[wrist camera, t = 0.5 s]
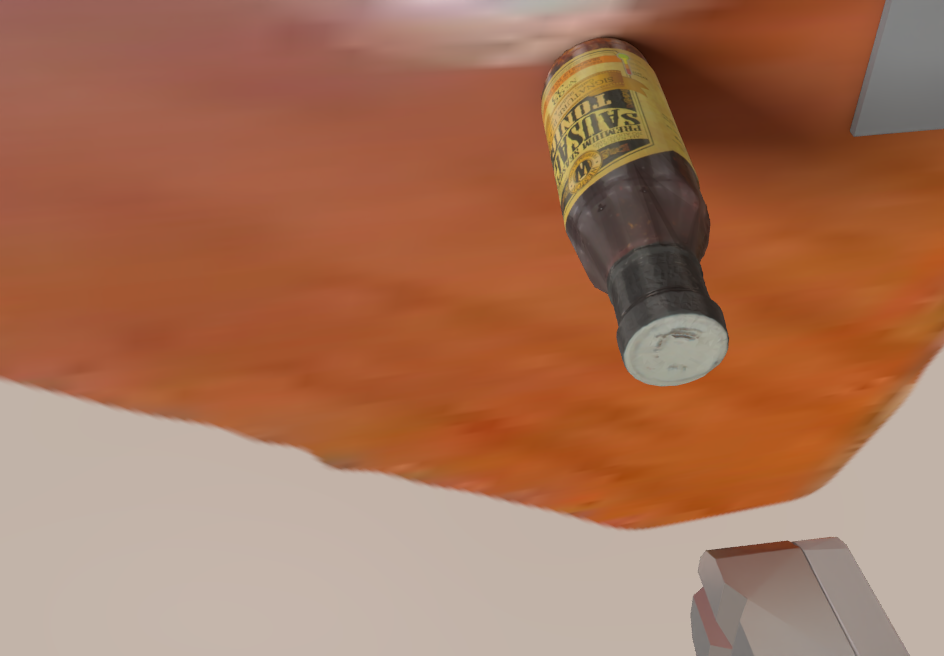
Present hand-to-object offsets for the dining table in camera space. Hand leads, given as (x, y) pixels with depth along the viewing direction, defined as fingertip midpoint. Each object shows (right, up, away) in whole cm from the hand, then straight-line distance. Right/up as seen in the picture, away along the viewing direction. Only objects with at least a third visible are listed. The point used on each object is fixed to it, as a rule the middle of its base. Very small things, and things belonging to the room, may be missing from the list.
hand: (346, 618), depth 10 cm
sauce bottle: (+8, +16, +37) cm, 41 cm away
